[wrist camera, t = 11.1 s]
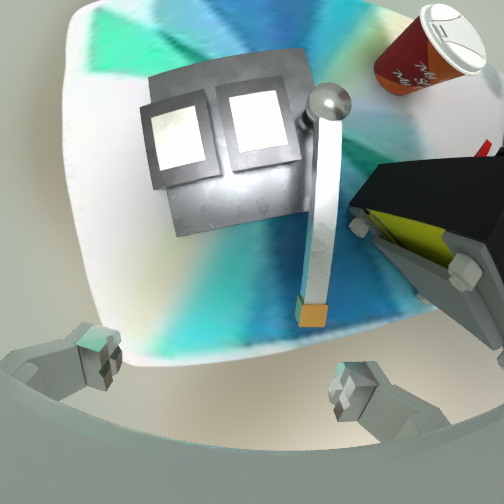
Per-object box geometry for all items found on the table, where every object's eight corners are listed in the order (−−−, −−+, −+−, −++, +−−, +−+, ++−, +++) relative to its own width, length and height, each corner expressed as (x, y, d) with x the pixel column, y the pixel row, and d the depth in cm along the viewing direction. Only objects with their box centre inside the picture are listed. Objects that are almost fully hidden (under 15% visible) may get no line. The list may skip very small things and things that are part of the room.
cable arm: (305, 88, 19) (311, 79, 17) (342, 94, 19) (351, 86, 17) (289, 315, 24) (293, 326, 22) (323, 315, 24) (330, 326, 22)
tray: (301, 53, 24) (313, 25, 18) (335, 204, 28) (358, 210, 22) (152, 81, 25) (131, 60, 18) (180, 234, 29) (163, 247, 23)
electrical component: (336, 218, 29) (464, 275, 9) (387, 152, 27) (529, 136, 8) (419, 303, 32) (516, 384, 12) (460, 246, 30) (568, 294, 11)
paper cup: (381, 107, 26) (456, 71, 12) (356, 52, 24) (411, -7, 10) (426, 100, 25) (501, 74, 12) (403, 49, 24) (464, 6, 10)
